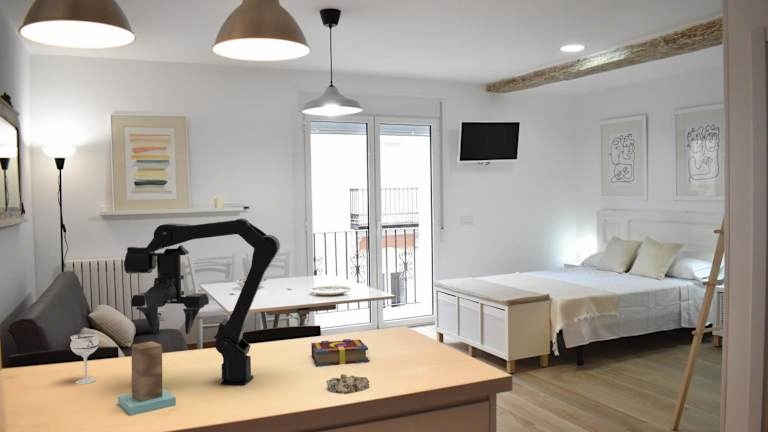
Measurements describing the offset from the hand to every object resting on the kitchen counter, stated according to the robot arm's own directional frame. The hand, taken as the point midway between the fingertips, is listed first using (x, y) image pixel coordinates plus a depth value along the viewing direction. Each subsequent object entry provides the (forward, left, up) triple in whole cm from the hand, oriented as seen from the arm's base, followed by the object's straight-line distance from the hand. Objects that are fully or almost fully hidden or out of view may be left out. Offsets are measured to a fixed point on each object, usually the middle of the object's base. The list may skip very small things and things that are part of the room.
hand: (170, 333), depth 154 cm
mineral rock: (-46, -2, -14) cm, 48 cm away
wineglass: (+24, +1, -13) cm, 27 cm away
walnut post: (-2, +15, -11) cm, 19 cm away
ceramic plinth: (-2, +15, -14) cm, 20 cm away
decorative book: (-38, -28, -14) cm, 49 cm away
